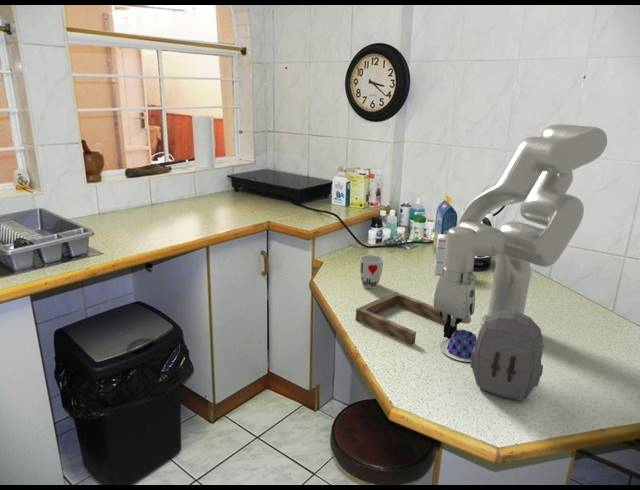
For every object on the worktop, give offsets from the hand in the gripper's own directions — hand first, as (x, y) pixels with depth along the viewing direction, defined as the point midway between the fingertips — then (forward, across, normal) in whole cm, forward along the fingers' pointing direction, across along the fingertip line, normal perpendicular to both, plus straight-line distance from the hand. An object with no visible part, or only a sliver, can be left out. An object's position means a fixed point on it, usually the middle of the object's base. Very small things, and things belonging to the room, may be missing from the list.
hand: (449, 336), depth 127 cm
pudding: (+2, -5, +2) cm, 6 cm away
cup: (+2, +40, -14) cm, 42 cm away
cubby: (+2, +16, 0) cm, 16 cm away
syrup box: (+2, +30, -45) cm, 54 cm away
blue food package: (+2, +42, -65) cm, 77 cm away
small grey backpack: (+2, -20, +12) cm, 24 cm away
